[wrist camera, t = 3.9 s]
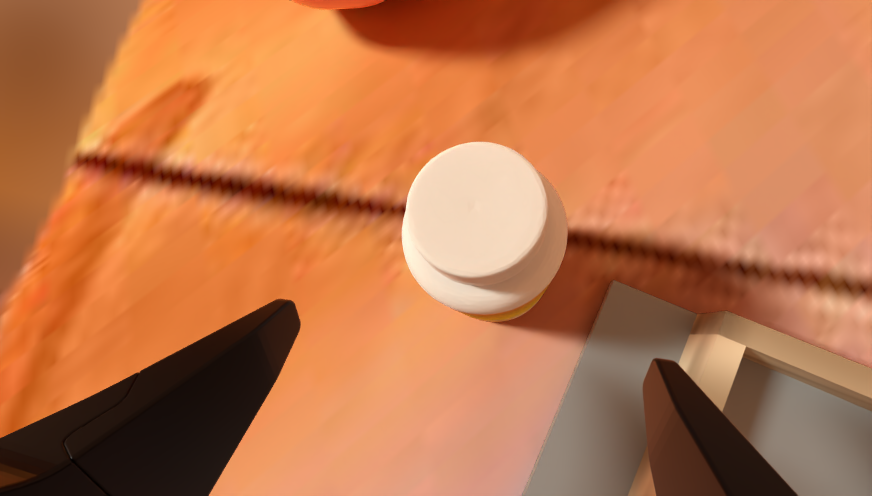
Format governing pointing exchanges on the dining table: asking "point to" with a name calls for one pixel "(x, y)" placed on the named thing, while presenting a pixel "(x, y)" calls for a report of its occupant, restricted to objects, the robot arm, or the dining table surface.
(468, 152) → the supplement bottle
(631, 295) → the board
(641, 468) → the end holder
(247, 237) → the dining table surface
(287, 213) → the dining table surface
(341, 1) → the cell model
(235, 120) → the dining table surface
